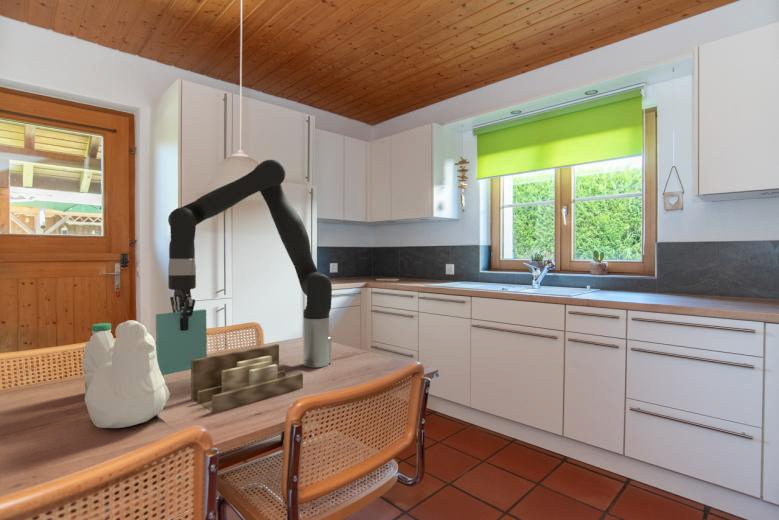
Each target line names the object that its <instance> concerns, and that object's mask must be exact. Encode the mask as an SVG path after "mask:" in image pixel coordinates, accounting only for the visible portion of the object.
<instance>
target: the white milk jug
mask: <svg viewBox="0 0 779 520" xmlns="http://www.w3.org/2000/svg"><path fill="white" fill-rule="evenodd" d="M114 333H115V338H116V340H115V339H114V336H113V333H112V332H111V331H110V332H109V331H100V332H98V333H95V334H94V335H93V334H92V335H91V336H90V338H89V341H87V343H86V344H85V345H84V350H83V357H82V359H81V366H82V371H83V372H84V375H83V378H84V383H85V382H86V385H87V386H88V390H87V392H86V394H85V395H84V402H85V405H86V408H87V412H88V415H89V417H90V419H91V421H92V423H93V424H94V426H96V427H97V428H101V429H102V428H103V429H105V428H106V429H107V428H108V429H120V428H127V427H128V428H129V427H132V426H135V425H138V424H143V423H146V422H148V421H149V420H151V419H152V418H154V417H156V416H157V415H159V414H160V413H161V411H162V410H163V409H164V407H165V404H166V403H167V402H168V401H169V399H170V395H171V393H170V391H169V388H168V385H167V384H166V382H165V381H166V380H165V377H163V376H164V375H162V374H161V371H160V369H159V366H158V362H157V354H156V340H155V339H154V337H153V335H151V334H150V333H149V332H148V329H147V328H146V326H145V325H144V324H142V323H140V322H139V321H137V320H133V319H132V320H131V319H129V320H126V321H124V322H121V323H119V324H117V326H116V328H115V331H114Z"/></svg>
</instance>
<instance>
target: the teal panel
mask: <svg viewBox="0 0 779 520" xmlns="http://www.w3.org/2000/svg"><path fill="white" fill-rule="evenodd" d="M207 335H208V334H207V309H205V308H204V309H203V308H202V309H193V313H192V316H190V317H189V318H188V330H185V331H181V330H180V312H173V311H172V312H165V313H156V314H155V344H156V354H157V362H158V366H159V369H160V371H161V374H162V376H165V375H171V374H176V373H180V372H184V371H185V372H186V371H189V370H190V371H191V360H194V359H199V358H204V357H208V355H207V354H208V353H207V350H208V349H207V348H208V347H207V343H208V341H207V340H208V339H207Z"/></svg>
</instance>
